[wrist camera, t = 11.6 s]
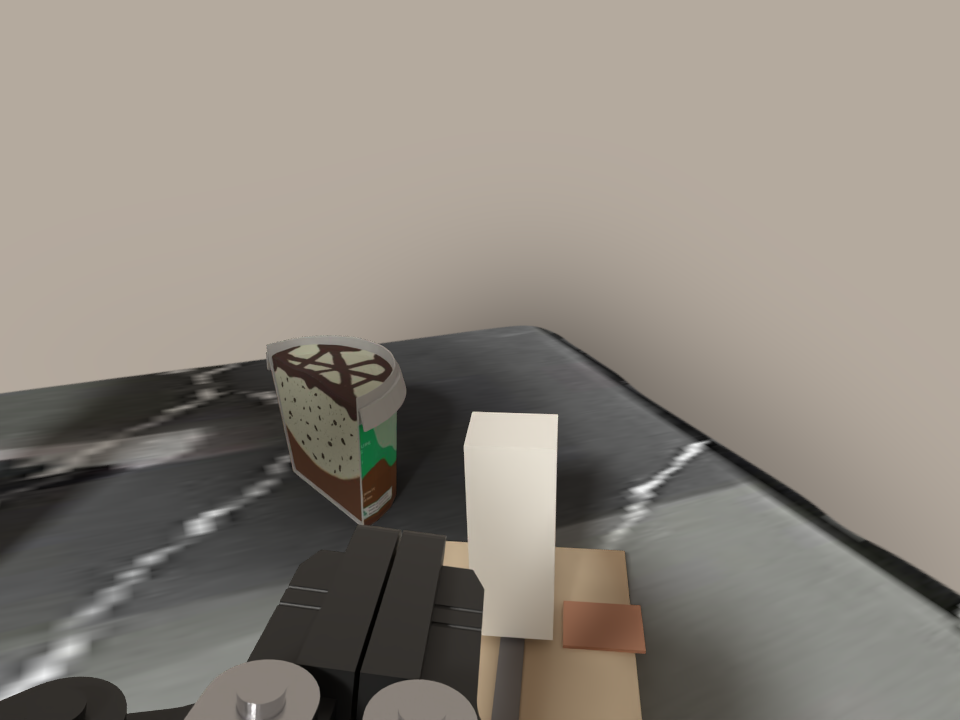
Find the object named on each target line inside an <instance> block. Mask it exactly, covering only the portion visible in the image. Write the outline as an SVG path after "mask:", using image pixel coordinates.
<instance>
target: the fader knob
mask: <svg viewBox="0 0 960 720" xmlns="http://www.w3.org/2000/svg"><path fill="white" fill-rule="evenodd" d="M557 437H558V415H555V414H524V413H493V412H472V416H471V419H470V423H469V427H468V431H467V435H466V439H465V443H464V463H465V486H466V508H467V531H468V553H469V569H472V570H474V572H475V574H476V575H477V577H478V579H479V581H480V582H481V584H482V586H483V587H484V589H485V590H484V605H483V619H482V631H481V632H482V634H481V635H484V636H499V637H513V638H527V639H542V640H553V618H554V579H555V532H556V484H557Z"/></svg>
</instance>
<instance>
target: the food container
mask: <svg viewBox="0 0 960 720" xmlns="http://www.w3.org/2000/svg"><path fill="white" fill-rule="evenodd" d="M266 358H267V369H268V370H271V371H272V376H273V380H274V385H275V389H276V394H277V399H278V403H279V408H280V412H281V417H282V422H283V426H284V431H285V435H286V440H287V445H288V449H289V454H290V458H291V463H292V468H293V472H294V473H296V474H297V475H298V476H299V477H301V478H302V479H303V480H304V481H306V482H307V483H308V484H309V485H311V486H312V487H313V488H314V489H315V490H317V491H318V492H319V493H320V494H322V495H323V496H324V497H325V498H327V499H328V500H329V501H330V502H332V503H333V504H334V505H335V506H337V507H338V508H339V509H340V510H342V511H343V512H344V513H345V514H346V515H348V516H349V517H350V518H351V519H353V520H354V521H355V522H356V523H358V524H361V525H368V526H370V525H371V524H373V523H375V522H376V521H378V520H379V519H380V518H381V517H382V516H383V515H384V514H385V513H386V512H387V511H388V510H389V509H390V508H391V505H392V503H393V501H394V499H395V496H396V450H397V410H398V409H399V408H400V407H401V405H402V404H403V402H404V399H405V397H406V386H405V382H404V379H403V376H402V373H401V370H400V367H399V365H398V363H397V362H396V360H395V359H394V357H393V355H392V353H391V352H390V351H389V350H388V349H386V348H385V347H383V346H382V345H380V344H378V343H375V342H372V341H369V340H366V339H362V338H356V337H349V336H331V335H327V336H310V337H301V338H294V339H288V340H284V341H280V342H276V343H272V344H269V345H267V352H266Z"/></svg>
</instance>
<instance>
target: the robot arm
mask: <svg viewBox="0 0 960 720" xmlns="http://www.w3.org/2000/svg"><path fill="white" fill-rule="evenodd" d="M445 544H446V536H445V535H438V534H430V533H422V532H415V531H407V530H404V531H403V534H402V537H401V530H399V529H391V528H384V527H376V526H368V525H361V524H358V525H357V527H356V529H355V531H354V534H353V536H352V538H351V540H350V543H349V545H348V547H347V549H346V552H345V553H343V552H336V551H328V550H320V551H319V552H317V553H316V554H314V555H313V556H312V557H310V558H309V559H307V560H306V561H305V562H303V563H302V564H300V565H299V567H298V569H297V571H296V573H295V574H294V576H293V578H292V580H291V582H290V584H289V587H288V589H286V591H285V593H284V595H283V596H282V598H281V600H280V604H279V605H278V606H277V607H276V609H275V611H274V613H273V615H272V617H271V618H270V620H269V622H268V624H267V626H266V628H265V629H264V631H263V633H262V635H261V637H260V639H259V640H258V642H257V644H256V646H255V648H254V650H253V651H252V653H251V655H250V657H249V659H248V661H247V662H246V663H243V664H240V665H237V666H235V667H233V668H230V669H228V670H226V671H225V672H223V673H222V674H220V675H219V676H218V677H216V678H215V679H214V680H213V681H212V682H211V683H210V684H209V685H208V687H207V688H206V689H205V691H204V692H203V693H202V695H201V696H200V698H199V699H198V700H197V702H196V703H195V704H191V705H187V706H183V707H178V708H172V709H164V710H155V711H147V712H138V713H129V714H127V703H126V699H125V696H124V694H123V693H122V691H121V690H120V689H119V688H118V687H117V686H115V685H114V684H112V683H110V682H108V681H105V680H102V679H98V678H93V677H69V678H63V679H57V680H54V681H50V682H46V683H43V684H41V685H38V686H35V687H33V688H30V689H28V690H25V691H23V692H21V693H18V694H16V695H13V696H11V697H9V698H6V699H4V700H2V701H0V720H481V718H480V716H479V712H478V708H477V693H478V678H479V664H480V649H481V634H482V632H481V631H482V619H483V605H484V590H485V589H484V587H483V586H482V584H481V582H480V581H479V579H478V577H477V575H476V574H475V572H474V570H472V569H465V568H457V567H450V566H443V561H444V553H445Z"/></svg>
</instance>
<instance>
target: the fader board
mask: <svg viewBox="0 0 960 720" xmlns="http://www.w3.org/2000/svg"><path fill="white" fill-rule="evenodd" d="M443 566H450V567H457V568H465V569H469V553H468V542H452V541H446V544H445V553H444V561H443ZM635 653H641V654H646V648H645V640H644V632H643V623H642V615H641V607H640V605H630V599H629V589H628V580H627V570H626V560H625V551H618V550H599V549H581V548H563V547H555V579H554V618H553V640H542V639H527V638H513V637H499V636H484V635H481V649H480V664H479V678H478V693H477V708H478V712H479V716H480V718H481V720H642V716H641V706H640V696H639V686H638V677H637V667H636V657H635Z"/></svg>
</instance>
